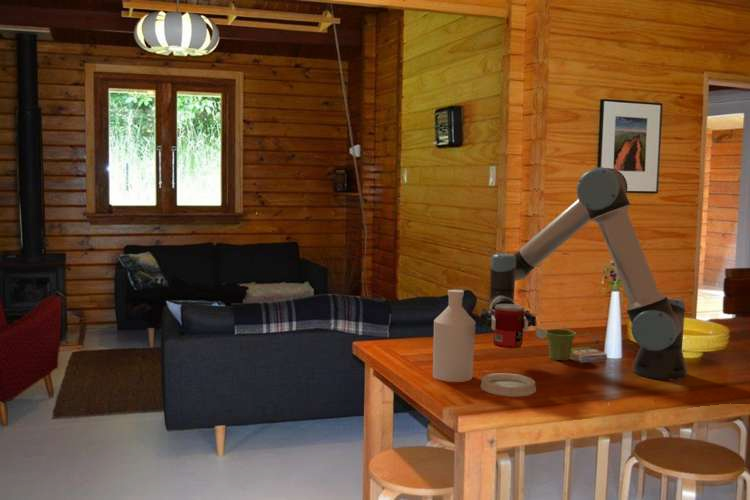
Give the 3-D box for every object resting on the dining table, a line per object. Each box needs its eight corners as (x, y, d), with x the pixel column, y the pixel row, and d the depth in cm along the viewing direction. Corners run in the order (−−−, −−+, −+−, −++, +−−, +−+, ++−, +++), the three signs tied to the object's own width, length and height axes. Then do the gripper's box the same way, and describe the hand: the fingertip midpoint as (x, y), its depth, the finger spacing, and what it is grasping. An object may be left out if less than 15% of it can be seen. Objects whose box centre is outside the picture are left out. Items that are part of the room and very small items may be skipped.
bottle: (477, 374, 227) (481, 289, 224) (466, 384, 216) (470, 295, 213) (438, 369, 232) (442, 286, 229) (426, 378, 221) (429, 292, 218)
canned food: (521, 349, 210) (523, 309, 209) (491, 347, 212) (493, 307, 210) (522, 343, 217) (524, 304, 216) (494, 341, 219) (496, 302, 218)
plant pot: (561, 363, 242) (562, 336, 241) (538, 357, 249) (539, 330, 249) (580, 360, 247) (582, 333, 246) (557, 353, 255) (559, 327, 254)
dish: (539, 384, 218) (539, 376, 217) (532, 399, 203) (532, 390, 203) (485, 378, 222) (486, 370, 222) (475, 392, 208) (476, 384, 208)
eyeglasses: (533, 337, 281) (533, 326, 281) (571, 333, 290) (571, 323, 289) (562, 346, 268) (562, 335, 267) (601, 342, 276) (601, 331, 276)
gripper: (538, 324, 231) (548, 341, 208) (468, 321, 233) (470, 337, 210) (539, 299, 230) (550, 313, 208) (469, 296, 232) (471, 310, 209)
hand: (510, 325), depth 209 cm, fingers closed on canned food, 8 cm apart
